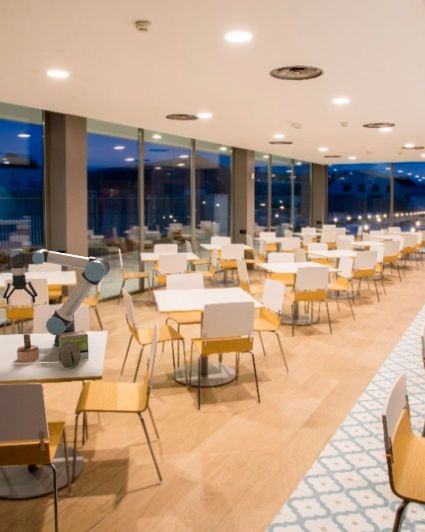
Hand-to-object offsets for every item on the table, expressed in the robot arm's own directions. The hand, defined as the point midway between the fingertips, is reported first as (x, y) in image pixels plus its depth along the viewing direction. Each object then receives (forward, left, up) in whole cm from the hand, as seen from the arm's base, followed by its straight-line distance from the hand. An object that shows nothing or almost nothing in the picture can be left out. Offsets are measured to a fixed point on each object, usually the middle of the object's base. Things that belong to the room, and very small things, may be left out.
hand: (21, 308), depth 337 cm
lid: (-8, +18, -21) cm, 28 cm away
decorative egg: (-37, +36, -27) cm, 58 cm away
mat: (-11, +5, -27) cm, 29 cm away
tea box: (-35, +18, -27) cm, 48 cm away
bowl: (-8, +18, -27) cm, 33 cm away
